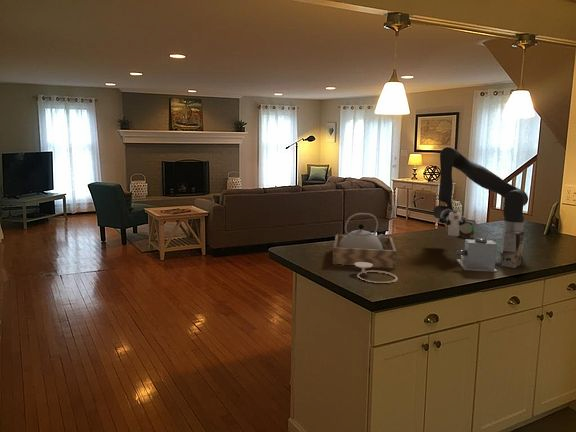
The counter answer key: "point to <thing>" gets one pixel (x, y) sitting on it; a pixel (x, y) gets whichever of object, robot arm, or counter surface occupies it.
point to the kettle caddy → (366, 254)
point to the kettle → (361, 237)
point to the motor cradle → (478, 255)
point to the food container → (467, 229)
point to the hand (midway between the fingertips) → (455, 223)
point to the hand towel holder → (368, 265)
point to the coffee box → (512, 248)
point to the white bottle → (454, 223)
